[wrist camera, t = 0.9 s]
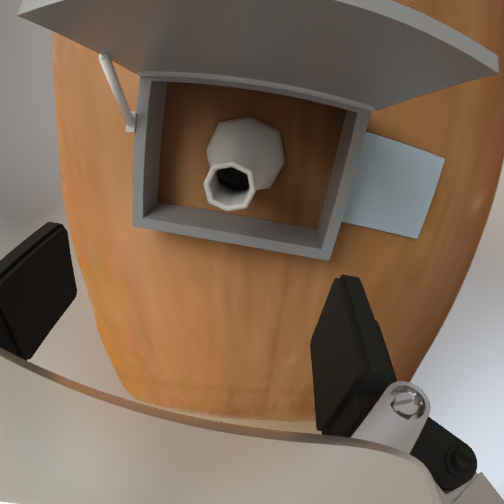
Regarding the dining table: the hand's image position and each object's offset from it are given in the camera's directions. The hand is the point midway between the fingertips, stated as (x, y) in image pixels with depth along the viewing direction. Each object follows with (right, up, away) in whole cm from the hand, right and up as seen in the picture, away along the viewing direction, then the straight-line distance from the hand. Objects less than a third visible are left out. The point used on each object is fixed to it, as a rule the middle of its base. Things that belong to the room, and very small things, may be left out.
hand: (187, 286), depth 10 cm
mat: (+16, +7, +17) cm, 24 cm away
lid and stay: (+2, +13, +11) cm, 18 cm away
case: (+1, +10, +17) cm, 20 cm away
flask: (+1, +10, +17) cm, 20 cm away
